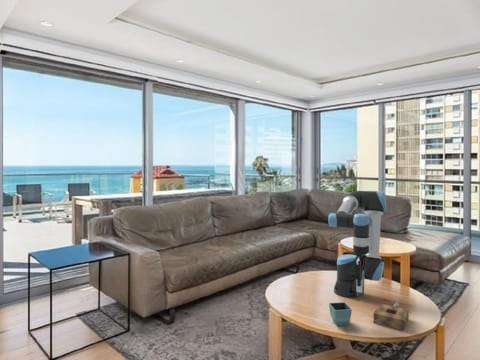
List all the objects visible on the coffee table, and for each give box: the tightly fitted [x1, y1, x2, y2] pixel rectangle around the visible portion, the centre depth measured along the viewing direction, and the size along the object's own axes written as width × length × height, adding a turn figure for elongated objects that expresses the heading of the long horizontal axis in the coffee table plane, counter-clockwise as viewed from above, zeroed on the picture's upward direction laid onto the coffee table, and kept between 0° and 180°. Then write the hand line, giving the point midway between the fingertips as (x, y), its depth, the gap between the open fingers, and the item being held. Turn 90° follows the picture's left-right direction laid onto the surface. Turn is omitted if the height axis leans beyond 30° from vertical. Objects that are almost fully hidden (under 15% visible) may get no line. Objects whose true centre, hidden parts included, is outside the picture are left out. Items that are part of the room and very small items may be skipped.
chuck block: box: [373, 300, 410, 331], centre depth 175 cm, size 14×26×5 cm, turn 145°
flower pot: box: [328, 301, 353, 327], centre depth 167 cm, size 9×9×9 cm
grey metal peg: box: [356, 270, 365, 298], centre depth 168 cm, size 3×3×13 cm
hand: (360, 290), depth 168 cm, fingers closed on grey metal peg, 3 cm apart
